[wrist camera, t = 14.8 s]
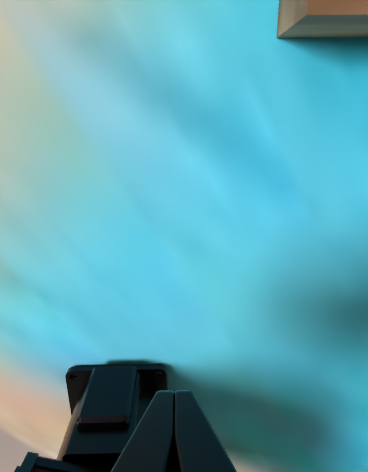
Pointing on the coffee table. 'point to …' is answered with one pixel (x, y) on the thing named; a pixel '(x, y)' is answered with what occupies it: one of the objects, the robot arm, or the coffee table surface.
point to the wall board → (322, 18)
